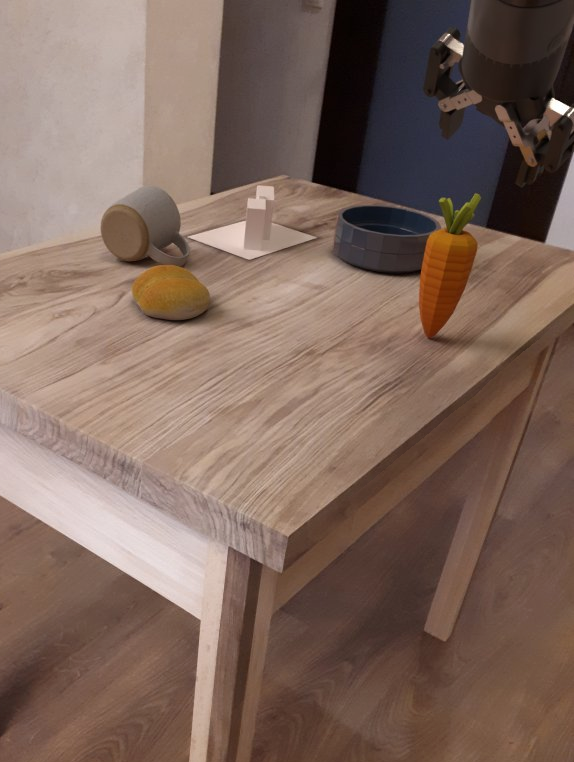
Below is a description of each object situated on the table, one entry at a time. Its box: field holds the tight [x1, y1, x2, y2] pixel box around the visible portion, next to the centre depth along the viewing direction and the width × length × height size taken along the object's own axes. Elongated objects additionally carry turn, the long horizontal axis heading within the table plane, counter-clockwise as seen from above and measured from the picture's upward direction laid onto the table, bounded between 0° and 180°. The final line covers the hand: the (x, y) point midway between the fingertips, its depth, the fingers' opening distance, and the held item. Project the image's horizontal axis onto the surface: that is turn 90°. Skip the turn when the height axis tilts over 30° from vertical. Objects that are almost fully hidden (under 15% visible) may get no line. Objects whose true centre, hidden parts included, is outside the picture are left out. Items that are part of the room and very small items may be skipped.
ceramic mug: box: [100, 185, 191, 267], centre depth 98 cm, size 11×8×8 cm
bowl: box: [332, 204, 442, 274], centre depth 104 cm, size 13×13×5 cm
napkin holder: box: [187, 184, 318, 261], centre depth 108 cm, size 15×11×6 cm
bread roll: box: [131, 264, 211, 321], centre depth 87 cm, size 8×9×4 cm
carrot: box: [418, 192, 482, 339], centre depth 81 cm, size 5×5×15 cm
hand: (487, 154), depth 74 cm, fingers open, 8 cm apart
